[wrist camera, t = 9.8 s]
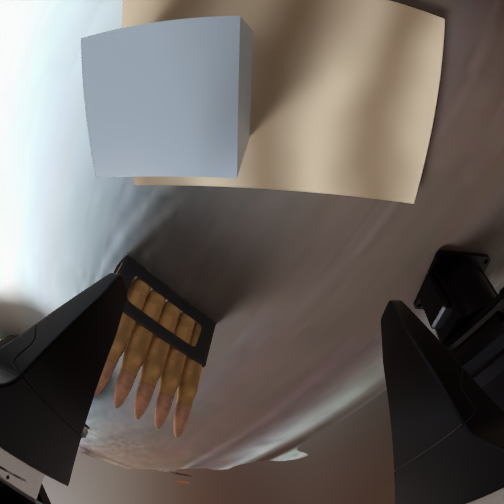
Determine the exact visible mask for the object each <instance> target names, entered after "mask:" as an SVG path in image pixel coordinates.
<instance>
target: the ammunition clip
mask: <svg viewBox="0 0 504 504" xmlns="http://www.w3.org/2000/svg"><path fill="white" fill-rule="evenodd" d="M114 273H116V274H121V275H122V276H123V279H124V283H125V286H126V290H127V299H126V303H125V306H124V310H123V313H122V317H121V320H120V324H119V327H118V331H117V334H116V337H115V340H114V342H113V345H112V348H111V350H110V353H109V355H108V358H107V361H106V363H105V366H104V369H103V372H102V374H101V377H100V380H99V383H98V386H97V389H96V392H95V395H94V396H97V395H98V394H99V393H100V392H101V391H102V390H103V389H104V387H105V386H106V384H107V383H108V381H109V379H110V377H111V375H112V373H113V371H114V368H115V366H116V364H117V362H118V360H119V358H120V356H121V355H122V353H123V352H124V350H125V352H124V355H123V362H122V366H121V369H120V373H119V376H118V379H117V382H116V387H115V393H114V405H115V408H119V407H120V406H121V405H122V404H123V402H124V401H125V399H126V398H127V396H128V394H129V392H130V390H131V388H132V385H133V383H134V380H135V378H136V376H137V373H138V371H139V369H140V367H141V366H142V371H141V377H140V381H139V386H138V389H137V393H136V398H135V417H136V419H139V418H140V417H141V416H142V415H143V414H144V412H145V411H146V409H147V407H148V405H149V403H150V400H151V398H152V395H153V391H154V389H155V387H156V384H157V381H158V379H159V377H160V375H161V377H160V387H159V392H158V397H157V401H156V407H155V425H156V428H157V429H160V428H161V426H162V425H163V424H164V422H165V420H166V418H167V416H168V414H169V411H170V408H171V405H172V401H173V399H174V395H175V392H176V390H177V401H176V408H175V414H174V433H175V436H176V437H177V438H178V437H179V436H180V435H181V434H182V432H183V430H184V428H185V426H186V424H187V421H188V418H189V414H190V410H191V407H192V403H193V399H194V397H195V395H196V393H197V389H198V384H199V379H200V374H201V370H202V367H205V365H206V361H207V357H208V353H209V349H210V345H211V341H212V337H213V333H214V329H215V325H216V323H214V322H213V321H212V320H210V319H209V318H208V317H206V316H205V315H203V314H202V313H201V312H199V311H198V310H197V309H195V308H194V307H193V306H191V305H190V304H189V303H188V302H186V301H185V300H184V299H182V298H181V297H180V296H178V295H177V294H176V293H175V292H173V291H172V290H171V289H169V288H168V287H167V286H166V285H164V284H163V283H162V282H161V281H159V280H158V279H157V278H156V277H154V276H153V275H152V274H151V273H149V272H148V271H147V270H146V269H145V268H143V267H142V266H141V265H140V264H138V263H137V262H136V261H135V260H134V259H132V258H131V257H130V256H126V257H125V258H124V259H123V260H122V261H121V262H120V263H119V264H118V265H117V267H116V269H115V271H114ZM130 336H131V337H130ZM128 341H129V342H128ZM127 343H128V344H127ZM126 346H127V347H126ZM125 348H126V349H125ZM142 364H143V365H142ZM177 388H178V389H177Z"/></svg>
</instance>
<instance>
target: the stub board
mask: <svg viewBox="0 0 504 504" xmlns="http://www.w3.org/2000/svg"><path fill="white" fill-rule="evenodd" d="M217 16H241V17H242V18H243V20H244V21H245V22H246V23H247V24H248V26H249V27H250V28H251V29H252V31H253V53H252V84H251V116H250V138H249V141H248V144H247V148H246V151H245V154H244V157H243V160H242V164H241V167H240V170H239V174H238V177H237V178H218V177H170V176H146V177H134V184H135V185H188V186H220V187H242V188H260V189H276V190H290V191H303V192H315V193H326V194H336V195H346V196H355V197H364V198H373V199H381V200H389V201H397V202H405V203H412V204H414V201H415V197H416V194H417V190H418V186H419V183H420V179H421V175H422V171H423V167H424V163H425V159H426V154H427V150H428V145H429V140H430V136H431V131H432V125H433V120H434V115H435V109H436V103H437V96H438V89H439V82H440V74H441V65H442V55H443V44H444V28H445V19H443V18H441V17H438V16H436V15H433V14H430V13H428V12H425V11H422V10H419V9H416V8H413V7H410V6H407V5H404V4H400V3H397V2H393V1H390V0H123V19H122V28H126V27H131V26H136V25H142V24H148V23H154V22H161V21H169V20H177V19H187V18H199V17H217Z"/></svg>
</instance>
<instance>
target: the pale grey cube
mask: <svg viewBox="0 0 504 504" xmlns="http://www.w3.org/2000/svg"><path fill="white" fill-rule="evenodd" d="M81 53H82V74H83V87H84V99H85V109H86V117H87V126H88V133H89V140H90V147H91V153H92V159H93V165H94V171H95V176H96V178H100V177H146V176H170V177H218V178H237V177H238V174H239V170H240V167H241V164H242V160H243V157H244V154H245V151H246V148H247V144H248V141H249V138H250V116H251V84H252V53H253V31H252V29H251V28H250V27H249V26H248V24H247V23H246V22H245V21H244V20H243V18H242V17H241V16H217V17H199V18H187V19H177V20H169V21H161V22H154V23H148V24H142V25H136V26H131V27H126V28H121V29H116V30H112V31H108V32H103V33H99V34H96V35H92V36H88V37H85V38H81Z"/></svg>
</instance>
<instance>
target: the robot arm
mask: <svg viewBox="0 0 504 504" xmlns="http://www.w3.org/2000/svg"><path fill="white" fill-rule="evenodd" d="M441 256H442V257H441ZM489 262H490V258H489V256H488V255H486V254H476V253H466V252H455V251H444V250H440V251H438V252H437V253H436V255H435V257H434V260H433V262H432V264H431V267H430V269H429V271H428V273H427V275H426V278H425V280H424V282H423V284H422V286H421V288H420V291H419V293H418V295H417V297H416V299H415V301H414V306H415V308H416V309H424V311H425V313H426V316H427V318H428V321H429V323H430V326H431V328H432V329H435V330H436V333H437V335H438V338H439V340H438V339H437V338H436V336H435V335H434V334H433V333H432V332H431V331H430V330H429V329H428V328H427V327H426V326H425V325H424V324H423V322H422V321H421V320H420V319H419V318H418V317H417V316H416V315H415V314H414V313H413V312H412V311H411V310H410V309H409V308H408V307H407V306H406V305H405V304H404V303H403V302H402V301H400V300H390V301H389V302H388V304H387V306H386V309H385V311H384V313H383V315H382V318H381V332H382V350H383V364H384V372H385V379H386V386H387V394H388V401H389V410H390V420H391V431H392V443H393V458H394V471H395V472H394V482H395V504H504V287H503V288H502V289H501V290H500V293H499V294H497V292H496V291H495V289H494V287H493V286H492V284H491V283H490V281H489V279H488V278H487V276H486V275H485V273H484V272H485V270H486V268H487V266H488V264H489ZM126 299H127V290H126V286H125V283H124V279H123V276H122V275H121V274H116V273H110V274H108V275H107V276H105V277H104V278H102V279H101V280H99V281H98V282H96V283H94V284H93V285H91V286H90V287H88V288H87V289H85V290H84V291H83V292H81V293H80V294H78V295H77V296H75V297H74V298H72V299H71V300H69V301H68V302H66V303H65V304H63V305H62V306H61V307H59V308H58V309H56V310H55V311H53V312H52V313H51V314H49V315H48V316H46V317H45V318H43V319H42V320H41V321H39V322H38V323H37V324H35V325H34V326H32V327H31V328H29V329H28V330H27V331H25V332H24V333H22V334H21V335H19V336H18V337H16V338H15V339H13V340H12V341H10V342H9V343H7V344H6V345H4V346H2V347H1V348H0V504H51V503H50V501H49V498H48V496H47V494H46V492H45V489H44V487H43V485H42V481H43V478H44V475H47V476H49V477H50V478H52V479H55V480H56V481H58V482H61V483H62V484H65V485H67V486H68V484H69V481H70V477H71V473H72V469H73V465H74V461H75V457H76V454H77V450H78V447H79V443H80V440H81V435H82V432H83V429H84V426H85V422H86V419H87V416H88V413H89V410H90V407H91V404H92V401H93V398H94V395H95V392H96V389H97V386H98V383H99V380H100V377H101V374H102V372H103V369H104V366H105V363H106V361H107V358H108V355H109V353H110V350H111V348H112V345H113V342H114V340H115V337H116V334H117V331H118V327H119V324H120V320H121V317H122V313H123V310H124V306H125V303H126Z"/></svg>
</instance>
